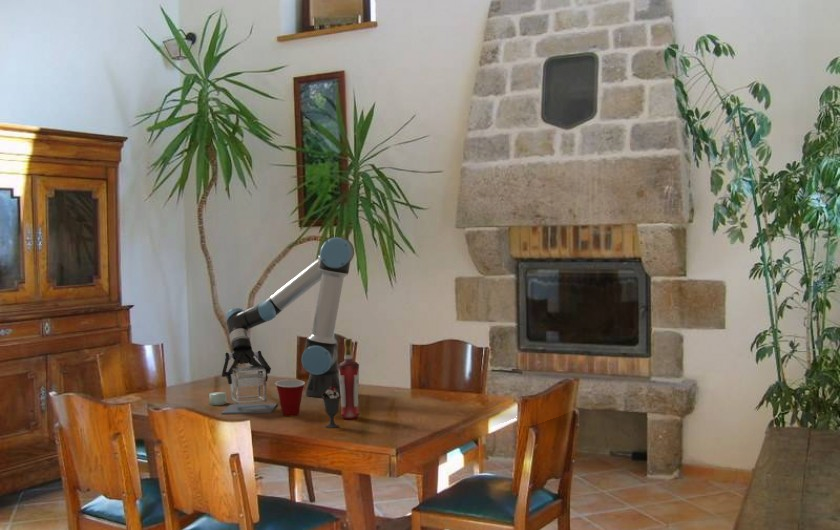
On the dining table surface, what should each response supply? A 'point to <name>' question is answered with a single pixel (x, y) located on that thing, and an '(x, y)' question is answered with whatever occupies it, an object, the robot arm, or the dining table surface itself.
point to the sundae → (331, 404)
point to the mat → (249, 408)
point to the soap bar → (217, 398)
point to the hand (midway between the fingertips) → (249, 388)
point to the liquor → (349, 383)
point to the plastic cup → (290, 396)
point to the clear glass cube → (249, 382)
